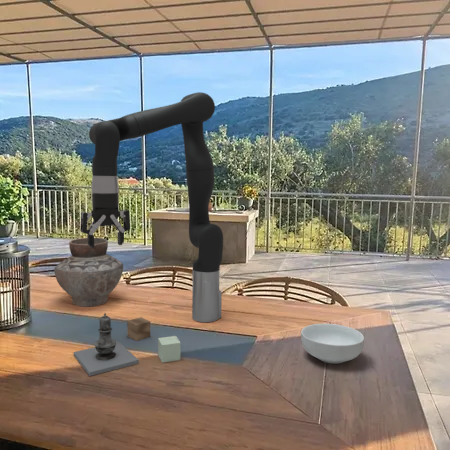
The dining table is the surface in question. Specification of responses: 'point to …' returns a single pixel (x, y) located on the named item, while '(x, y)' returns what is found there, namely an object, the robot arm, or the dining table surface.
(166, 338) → the sage block
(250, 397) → the dining table surface
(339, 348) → the cereal bowl
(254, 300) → the dining table surface
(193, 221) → the robot arm
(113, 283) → the ceramic pot
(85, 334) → the dining table surface
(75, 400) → the dining table surface
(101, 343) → the salt shaker
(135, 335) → the walnut block
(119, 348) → the serving board
